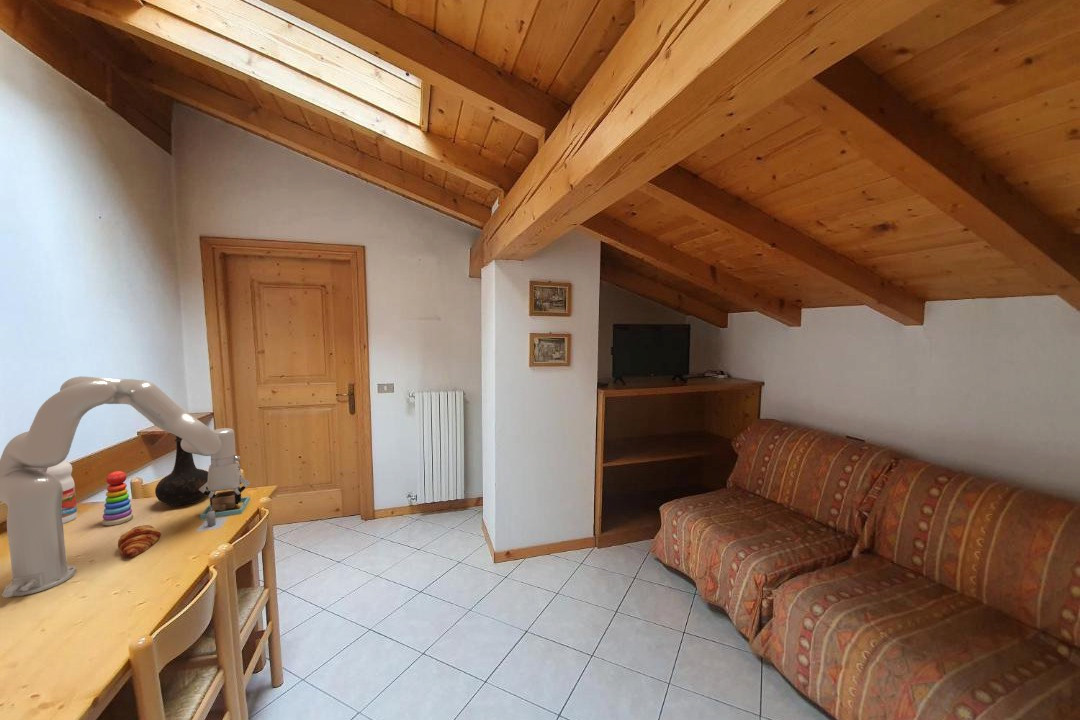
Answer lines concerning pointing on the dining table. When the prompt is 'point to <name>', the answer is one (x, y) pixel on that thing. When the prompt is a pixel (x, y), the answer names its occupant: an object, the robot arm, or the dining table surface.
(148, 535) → the croissant
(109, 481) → the stacking toy
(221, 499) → the collar
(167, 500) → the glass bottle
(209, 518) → the stake
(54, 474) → the fruit juice
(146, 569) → the dining table surface
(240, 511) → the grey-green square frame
